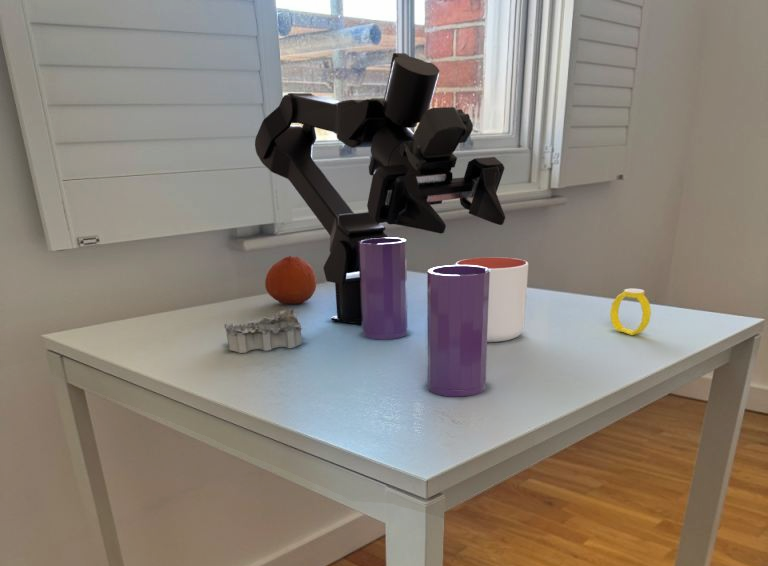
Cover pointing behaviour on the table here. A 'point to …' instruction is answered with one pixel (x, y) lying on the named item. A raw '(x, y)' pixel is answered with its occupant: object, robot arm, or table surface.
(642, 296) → the watch
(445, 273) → the plum cup
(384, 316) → the plum cup
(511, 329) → the cup
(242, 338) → the egg carton
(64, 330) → the table surface
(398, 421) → the table surface
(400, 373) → the table surface
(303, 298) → the fruit
